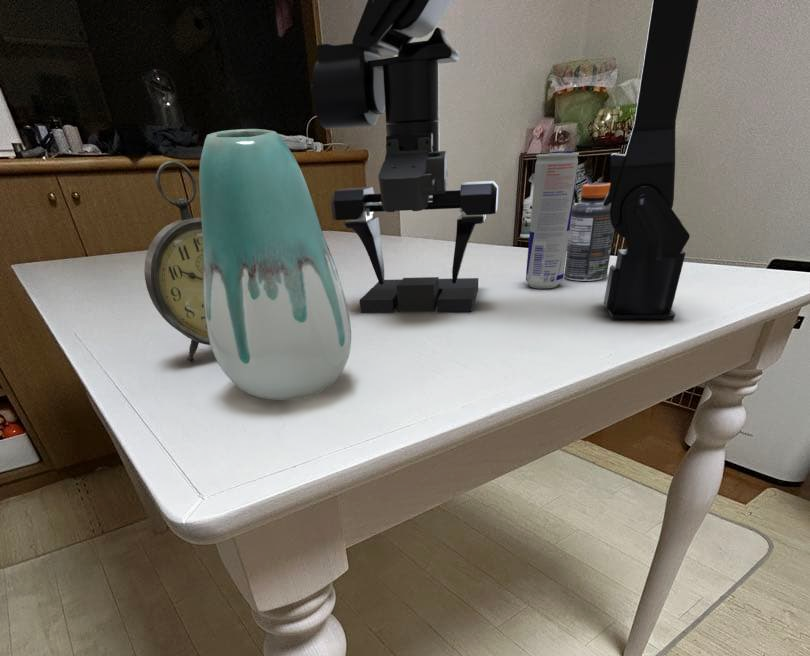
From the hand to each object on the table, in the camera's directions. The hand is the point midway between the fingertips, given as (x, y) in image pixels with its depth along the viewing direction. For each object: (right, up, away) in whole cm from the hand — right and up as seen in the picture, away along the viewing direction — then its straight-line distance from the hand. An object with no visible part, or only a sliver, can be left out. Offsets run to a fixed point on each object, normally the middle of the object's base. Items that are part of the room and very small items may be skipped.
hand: (417, 283), depth 64 cm
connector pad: (0, -2, +2) cm, 3 cm away
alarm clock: (-21, -12, -9) cm, 26 cm away
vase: (-12, -19, -19) cm, 29 cm away
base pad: (+1, 0, +4) cm, 4 cm away
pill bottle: (+25, +6, +11) cm, 27 cm away
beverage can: (+18, +3, +8) cm, 20 cm away
